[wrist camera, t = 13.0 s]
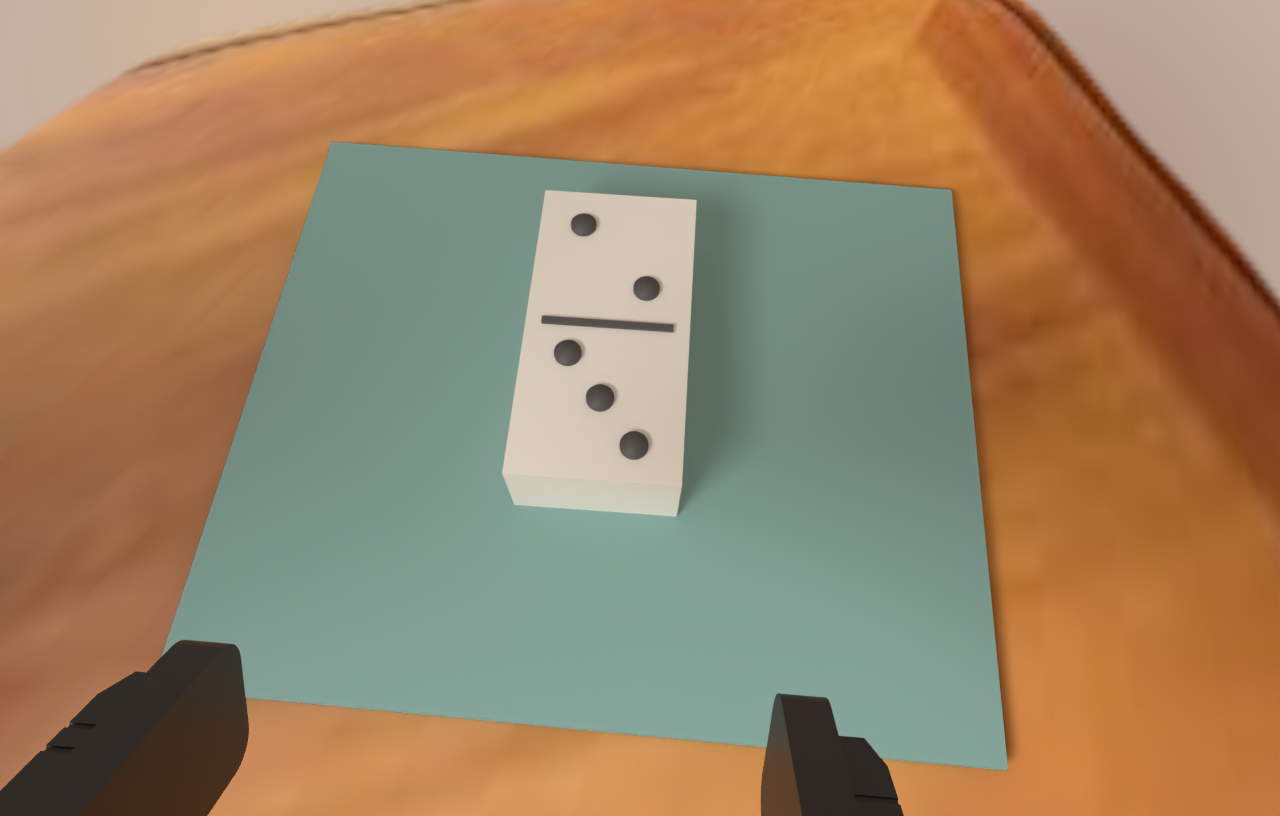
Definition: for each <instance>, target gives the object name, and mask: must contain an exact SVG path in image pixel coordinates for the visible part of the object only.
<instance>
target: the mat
mask: <svg viewBox="0 0 1280 816" xmlns="http://www.w3.org/2000/svg"><path fill="white" fill-rule="evenodd" d="M545 190H551V191H567V192H582V193H598V194H613V195H628V196H644V197H659V198H674V199H690V200H697V202H696V222H695V242H694V261H693V281H692V300H691V320H690V339H689V359H688V378H687V398H686V417H685V437H684V456H683V476H682V489H681V494H680V500H679V506H678V511H677V517H676V516H662V515H648V514H634V513H620V512H606V511H592V510H579V509H565V508H551V507H537V506H523V505H514V502H513V500H512V497H511V495H510V492H509V490H508V487H507V485H506V482H505V480H504V477H503V475H502V470H503V464H504V457H505V451H506V444H507V438H508V431H509V425H510V418H511V412H512V405H513V399H514V392H515V385H516V379H517V372H518V366H519V359H520V353H521V346H522V340H523V333H524V327H525V320H526V314H527V307H528V301H529V294H530V288H531V281H532V274H533V268H534V261H535V255H536V248H537V242H538V235H539V229H540V222H541V216H542V209H543V203H544V196H545ZM180 640H195V641H206V642H218V643H229V644H234V645H236V646H237V647H238V649H239V651H240V655H241V662H242V670H243V679H244V688H245V697H246V698H253V699H263V700H274V701H284V702H295V703H305V704H315V705H326V706H336V707H347V708H357V709H367V710H378V711H388V712H399V713H409V714H419V715H430V716H440V717H451V718H461V719H471V720H482V721H492V722H503V723H513V724H523V725H534V726H544V727H555V728H565V729H576V730H586V731H596V732H607V733H617V734H628V735H638V736H648V737H659V738H669V739H680V740H690V741H700V742H711V743H721V744H732V745H742V746H752V747H763V748H767V742H768V735H769V729H770V722H771V716H772V709H773V704H774V699H775V696H776V694H777V693H781V694H792V695H804V696H815V697H826V698H828V700H829V702H830V704H831V708H832V712H833V716H834V719H835V723H836V727H837V731H838V735H839V736H848V737H860V738H865V739H866V741H867V742H868V743H869V744H870V746H871V747H872V748H873V749H874V750H875V752H876V753H877V754H878V755H879V757H880V758H881V759H888V760H898V761H909V762H919V763H929V764H940V765H950V766H961V767H971V768H981V769H992V770H1008V764H1007V754H1006V744H1005V734H1004V723H1003V713H1002V703H1001V692H1000V682H999V672H998V662H997V651H996V641H995V631H994V620H993V610H992V600H991V590H990V579H989V569H988V559H987V549H986V538H985V528H984V518H983V507H982V497H981V487H980V477H979V466H978V456H977V446H976V435H975V425H974V415H973V405H972V394H971V384H970V374H969V363H968V353H967V343H966V333H965V322H964V312H963V302H962V292H961V281H960V271H959V261H958V250H957V240H956V230H955V220H954V209H953V199H952V190H946V189H934V188H921V187H908V186H895V185H882V184H870V183H857V182H844V181H831V180H818V179H806V178H793V177H780V176H767V175H754V174H742V173H729V172H716V171H703V170H690V169H678V168H665V167H652V166H639V165H626V164H614V163H601V162H588V161H575V160H562V159H550V158H537V157H524V156H511V155H499V154H486V153H473V152H460V151H447V150H435V149H422V148H409V147H396V146H383V145H371V144H358V143H345V142H331V145H330V148H329V151H328V154H327V158H326V161H325V164H324V167H323V170H322V173H321V176H320V179H319V182H318V185H317V188H316V191H315V194H314V197H313V200H312V203H311V206H310V209H309V212H308V215H307V218H306V221H305V224H304V227H303V230H302V233H301V236H300V239H299V242H298V245H297V248H296V251H295V254H294V257H293V260H292V263H291V267H290V270H289V273H288V276H287V279H286V282H285V285H284V288H283V291H282V294H281V297H280V300H279V303H278V306H277V309H276V312H275V315H274V318H273V321H272V324H271V327H270V330H269V333H268V336H267V339H266V342H265V345H264V348H263V351H262V354H261V357H260V360H259V363H258V366H257V369H256V373H255V376H254V379H253V382H252V385H251V388H250V391H249V394H248V397H247V400H246V403H245V406H244V409H243V412H242V415H241V418H240V421H239V424H238V427H237V430H236V433H235V436H234V439H233V442H232V445H231V448H230V451H229V454H228V457H227V460H226V463H225V466H224V469H223V472H222V475H221V478H220V482H219V485H218V488H217V491H216V494H215V497H214V500H213V503H212V506H211V509H210V512H209V515H208V518H207V521H206V524H205V527H204V530H203V533H202V536H201V539H200V542H199V545H198V548H197V551H196V554H195V557H194V560H193V563H192V566H191V569H190V572H189V575H188V578H187V581H186V584H185V588H184V591H183V594H182V597H181V600H180V603H179V606H178V609H177V612H176V615H175V618H174V621H173V624H172V627H171V630H170V633H169V636H168V639H167V642H166V645H165V648H164V651H163V654H162V656H163V655H164V654H165V653H166V652H167V651H168V650H169V649H170V648H171V647H172V646H173V645H174V644H175V643H176V642H178V641H180Z"/></svg>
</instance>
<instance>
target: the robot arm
mask: <svg viewBox="0 0 1280 816" xmlns="http://www.w3.org/2000/svg"><path fill="white" fill-rule="evenodd" d="M248 735H249V724H248V715H247V706H246V697H245V688H244V679H243V670H242V662H241V655H240V651H239V649H238V647H237V646H236V645H234V644H229V643H218V642H206V641H195V640H180V641H178V642H176V643H175V644H174V645H173V646H172V647H171V648H170V649H169V650H168V651H167V652H166V653H165V654H164V655H163V656H162V657H161V658H160V659H159V660H158V661H157V662H156V663H155V664H154V665H153V666H152V667H151V668H150V670H149V671H148V672H147V673H145V672H134V673H133V674H131V675H129V676H128V677H126V678H124V679H123V680H121V681H119V682H118V683H116V684H114V685H112V686H111V687H109V688H107V689H106V690H104V691H102V692H101V693H99V694H97V695H96V696H95V697H94V698H93V699H92V700H91V701H90V702H89V703H88V704H87V705H86V706H85V707H84V708H83V709H82V710H81V711H80V712H79V713H78V714H77V715H76V716H75V717H74V718H73V719H72V720H71V721H70V725H69V727H68V728H65V727H64V728H63V729H62V730H61V731H60V732H59V733H58V734H57V735H56V736H55V737H54V738H53V739H52V740H51V741H50V742H49V743H48V744H47V747H46V750H45V751H40V752H39V753H38V754H37V755H36V756H35V757H34V758H33V759H32V760H31V761H30V762H29V763H28V764H27V765H26V766H25V767H24V768H23V769H22V770H21V771H20V772H19V773H18V774H17V775H16V776H15V777H14V778H13V779H12V780H11V781H10V782H9V783H8V784H7V785H6V786H5V787H4V788H3V789H2V790H1V791H0V816H207V815H208V814H209V812H210V811H211V809H212V808H213V806H214V805H215V803H216V802H217V800H218V799H219V797H220V796H221V794H222V793H223V791H224V790H225V788H226V787H227V786H228V784H229V783H230V781H231V780H232V778H233V777H234V775H235V774H236V772H237V770H238V768H239V766H240V764H241V762H242V760H243V757H244V754H245V751H246V747H247V742H248ZM761 816H904V815H903V812H902V809H901V806H900V804H898V797H897V794H896V791H895V788H894V785H893V781H892V778H891V775H890V772H889V769H888V766H887V765H886V764H885V763H884V761H883V760H882V759H881V758H880V757H879V755H878V754H877V753H876V752H875V750H874V749H873V748H872V747H871V746H870V744H869V743H868V742H867V741H866V739H865V738H860V737H848V736H839V735H838V731H837V727H836V723H835V719H834V716H833V712H832V708H831V704H830V702H829V700H828V698H826V697H815V696H804V695H792V694H781V693H777V694H776V696H775V699H774V704H773V709H772V716H771V722H770V729H769V735H768V742H767V748H766V754H765V761H764V767H763V774H762V784H761Z"/></svg>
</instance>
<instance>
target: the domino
mask: <svg viewBox="0 0 1280 816" xmlns="http://www.w3.org/2000/svg"><path fill="white" fill-rule="evenodd" d="M696 202H697V200H690V199H674V198H659V197H644V196H628V195H613V194H598V193H582V192H567V191H551V190H545V196H544V203H543V209H542V216H541V222H540V229H539V235H538V242H537V248H536V255H535V261H534V268H533V274H532V281H531V288H530V294H529V301H528V307H527V314H526V320H525V327H524V333H523V340H522V346H521V353H520V359H519V366H518V372H517V379H516V385H515V392H514V399H513V405H512V412H511V418H510V425H509V431H508V438H507V444H506V451H505V457H504V464H503V470H502V475H503V477H504V480H505V482H506V485H507V487H508V490H509V492H510V495H511V497H512V500H513V502H514V505H523V506H537V507H551V508H565V509H579V510H592V511H606V512H620V513H634V514H648V515H662V516H676V517H677V511H678V506H679V500H680V494H681V489H682V476H683V456H684V437H685V417H686V398H687V378H688V359H689V339H690V320H691V300H692V281H693V261H694V242H695V222H696Z"/></svg>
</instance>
